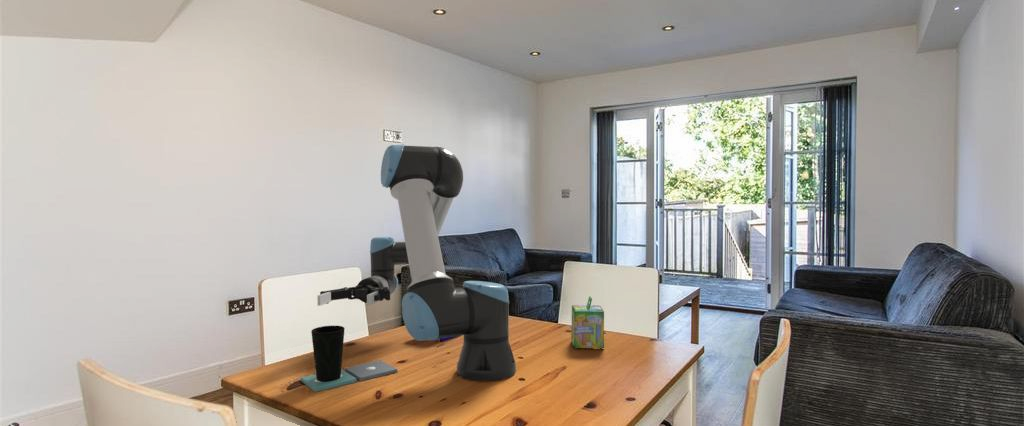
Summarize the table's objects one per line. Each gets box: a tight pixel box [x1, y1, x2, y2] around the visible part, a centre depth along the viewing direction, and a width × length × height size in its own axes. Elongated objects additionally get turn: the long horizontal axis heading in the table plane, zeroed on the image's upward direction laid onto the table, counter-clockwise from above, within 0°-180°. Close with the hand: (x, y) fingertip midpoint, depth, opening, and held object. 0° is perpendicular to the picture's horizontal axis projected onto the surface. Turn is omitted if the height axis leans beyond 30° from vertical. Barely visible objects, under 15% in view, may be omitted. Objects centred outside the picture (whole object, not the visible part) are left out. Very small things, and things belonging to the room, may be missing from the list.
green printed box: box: [570, 296, 605, 349], centre depth 154 cm, size 9×9×15 cm
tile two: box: [300, 368, 358, 393], centre depth 124 cm, size 10×10×1 cm
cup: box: [310, 325, 345, 382], centre depth 124 cm, size 8×8×12 cm
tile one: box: [344, 359, 399, 382], centre depth 131 cm, size 10×10×1 cm
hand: (343, 300), depth 134 cm, fingers open, 13 cm apart
